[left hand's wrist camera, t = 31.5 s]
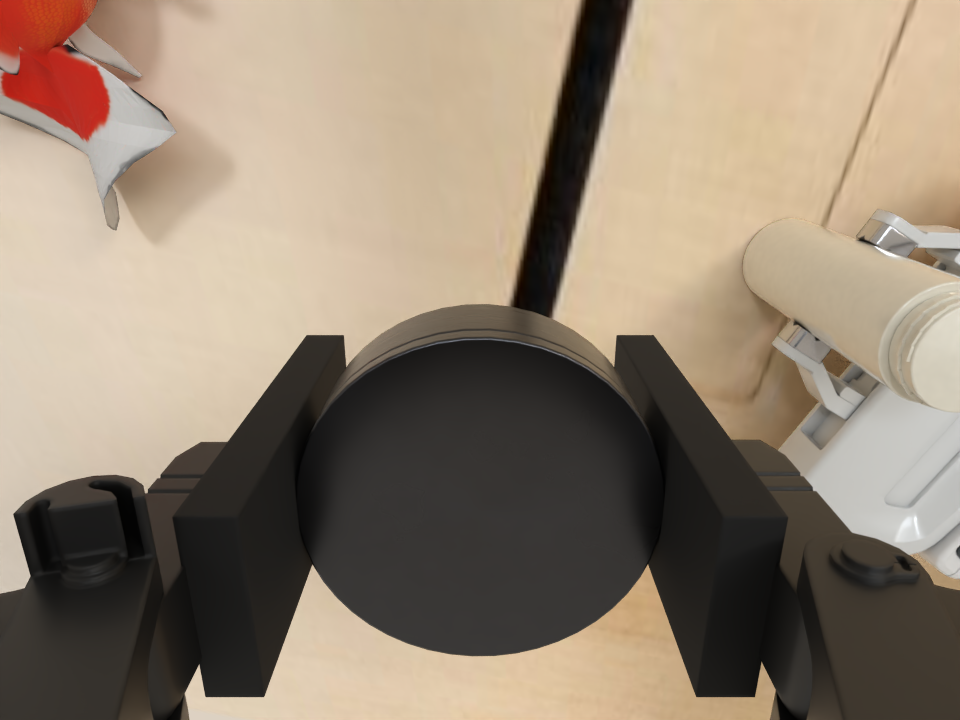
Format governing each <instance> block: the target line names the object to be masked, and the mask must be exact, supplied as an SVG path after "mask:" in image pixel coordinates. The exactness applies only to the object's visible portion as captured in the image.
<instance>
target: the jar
mask: <svg viewBox="0 0 960 720" xmlns="http://www.w3.org/2000/svg"><path fill="white" fill-rule="evenodd" d="M743 275H744V279H745V281H746V283H747V285H748V287H749V288H750V290H751V291H752V292H753V293H754V294H755V295H757V296H758V297H759V298H761V299H762V300H764V301H765V302H766V303H768V304H769V305H771V306H772V307H774V308H775V309H776V310H778V311H779V312H781V313H782V314H783V315H785V316H786V317H788V318H789V319H791V320H792V321H794V322H795V323H797V324H798V325H800V326H801V327H802V328H804V329H806V330H807V331H808V332H810V333H811V334H812V335H814V336H815V337H816V338H817V339H819V340H820V341H822V342H823V343H824V344H826V345H827V346H829V347H830V348H832V349H833V350H834V351H836V352H837V353H839V354H840V355H841V356H843V357H844V358H846V359H847V360H849V361H850V362H851V363H853V364H854V365H856V366H857V367H858V368H860V369H861V370H863V371H864V372H866V373H867V374H868V375H870V376H871V377H873V378H874V379H875V380H877V381H878V382H880V383H881V384H883V385H884V386H885V387H887V388H888V389H890V390H891V391H892V392H894V393H895V394H897V395H898V396H900V397H902V398H904V399H906V400H909V401H912V402H916V403H920V404H922V405H925V406H928V407H931V408H934V409H938V410H941V411H945V412H953V413H960V277H959V276H957V275H954V274H951V273H949V272H946V271H943V270H940V269H938V268H935V267H932V266H929V265H927V264H924V263H921V262H919V261H916V260H913V259H910V258H908V257H905V256H902V255H900V254H897V253H894V252H891V251H889V250H886V249H883V248H881V247H878V246H875V245H872V244H870V243H867V242H864V241H862V240H859V239H856V238H853V237H851V236H848V235H845V234H843V233H840V232H837V231H834V230H832V229H829V228H826V227H823V226H821V225H818V224H815V223H813V222H810V221H807V220H804V219H799V218H787V219H782V220H778V221H775V222H773V223H771V224H769V225H767V226H766V227H764V228H763V229H762V230H761V231H759V232H758V233H757V234H756V235H755V236H754V238H753V239H752V240H751V242H750V243H749V245H748V247H747V249H746V252H745V255H744V259H743Z"/></svg>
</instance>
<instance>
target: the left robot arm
mask: <svg viewBox="0 0 960 720" xmlns="http://www.w3.org/2000/svg"><path fill="white" fill-rule="evenodd" d="M614 368H615V369H616V371H617V372H618V373H619V374H620V376H621V378H622V380H623V381H624V383H625V385H626V387H627V389H628V390H629V392H630V394H631V396H632V398H633V400H634V402H635V404H636V406H637V408H638V410H639V411H640V413H641V415H642V417H643V419H644V421H645V423H646V425H647V427H648V429H649V431H650V433H651V435H652V437H653V440H654V442H655V445H656V448H657V450H658V453H659V455H660V460H661V464H662V469H663V473H664V480H665V498H664V507H663V517H662V525H661V532H660V536H659V540H658V542H657V545H656V547H655V550H654V552H653V555H652V557H651V559H650V561H649V563H648V565H649V568H650V571H651V573H652V576H653V579H654V582H655V584H656V587H657V590H658V593H659V595H660V598H661V601H662V604H663V606H664V609H665V612H666V615H667V618H668V620H669V623H670V626H671V629H672V631H673V634H674V637H675V640H676V642H677V645H678V648H679V651H680V653H681V656H682V659H683V662H684V664H685V667H686V670H687V673H688V675H689V678H690V681H691V684H692V686H693V689H694V692H695V695H696V697H755V694H756V688H757V683H758V677H759V672H760V667H761V661H762V663H763V665H764V667H765V669H766V671H767V673H768V675H769V677H770V679H771V681H772V683H773V685H774V687H775V689H776V692H775V697H774V702H773V707H772V712H771V717H770V720H960V591H959V590H954V589H949V588H945V587H941V586H937V585H934V584H933V582H932V580H931V578H930V576H929V574H928V573H927V572H926V571H925V569H924V568H923V567H922V566H921V564H920V563H919V562H918V561H917V560H915V559H914V558H913V557H911V556H910V555H908V554H907V553H905V552H904V551H902V550H901V549H899V548H897V547H895V546H893V545H890V544H888V543H886V542H883V541H881V540H879V539H876V538H872V537H868V536H864V535H860V534H856V533H852V532H851V531H850V530H849V528H848V527H847V526H846V525H845V524H844V523H843V521H842V520H841V519H840V518H839V517H838V516H837V514H836V513H835V512H834V511H833V510H832V509H831V507H830V506H829V505H828V504H827V503H826V502H825V501H824V499H823V498H822V497H821V496H820V495H819V494H818V492H817V491H813V487H812V485H811V484H810V483H809V482H808V481H807V480H806V479H805V477H804V476H801V475H800V472H799V470H798V469H797V468H796V467H795V466H794V465H793V463H792V462H791V461H790V460H789V459H788V458H787V456H786V455H784V454H783V453H781V452H779V451H778V450H776V449H774V448H773V447H771V446H769V445H768V444H766V443H764V442H762V441H761V440H731V439H730V438H729V436H728V435H727V434H726V432H725V431H724V430H723V428H722V427H721V426H720V424H719V423H718V421H717V420H716V419H715V417H714V416H713V415H712V413H711V412H710V411H709V409H708V408H707V407H706V405H705V404H704V403H703V401H702V400H701V399H700V397H699V396H698V394H697V393H696V392H695V390H694V389H693V388H692V386H691V385H690V384H689V382H688V381H687V380H686V378H685V377H684V376H683V374H682V373H681V372H680V370H679V369H678V367H677V366H676V365H675V363H674V362H673V361H672V359H671V358H670V357H669V355H668V354H667V353H666V351H665V350H664V349H663V347H662V346H661V345H660V343H659V342H658V341H657V339H656V338H655V336H654V335H617V338H616V352H615V365H614ZM345 369H346V360H345V346H344V335H307V336H306V337H305V338H304V340H303V341H302V342H301V344H300V345H299V346H298V348H297V349H296V351H295V352H294V353H293V355H292V356H291V357H290V359H289V360H288V361H287V363H286V364H285V365H284V367H283V368H282V369H281V371H280V372H279V373H278V375H277V376H276V378H275V379H274V380H273V382H272V383H271V384H270V386H269V387H268V388H267V390H266V391H265V392H264V394H263V395H262V396H261V398H260V399H259V400H258V402H257V403H256V405H255V406H254V407H253V409H252V410H251V411H250V413H249V414H248V415H247V417H246V418H245V419H244V421H243V422H242V423H241V425H240V426H239V427H238V429H237V430H236V432H235V433H234V434H233V436H232V437H231V438H230V440H229V441H228V442H200V443H199V444H197V445H195V446H194V447H192V448H190V449H189V450H187V451H185V452H184V453H182V454H180V455H179V456H177V457H175V459H174V460H173V461H172V462H171V463H170V464H169V466H168V467H167V468H166V469H165V470H164V471H163V473H162V474H161V477H160V478H158V479H157V480H156V481H155V482H154V483H153V484H152V486H151V487H150V488H149V489H148V493H145V492H144V487H143V485H142V484H140V483H139V482H138V481H136V480H135V479H133V478H129V477H124V476H119V475H104V476H91V477H86V478H81V479H77V480H72V481H68V482H65V483H63V484H60V485H57V486H55V487H52V488H49V489H46V490H44V491H43V492H41V493H39V494H38V495H36V496H34V497H32V498H31V499H29V500H27V501H26V502H25V503H24V504H23V505H22V506H21V507H20V508H19V509H18V510H17V511H16V512H15V513H14V514H13V515H14V518H15V522H16V525H17V529H18V533H19V536H20V540H21V543H22V547H23V550H24V554H25V557H26V561H27V564H28V568H29V572H30V575H31V577H30V579H29V581H28V583H27V585H26V587H25V588H24V589H20V590H16V591H12V592H7V593H2V594H0V720H189V714H188V707H187V702H186V697H185V692H186V690H187V687H188V685H189V683H190V681H191V679H192V677H193V675H194V673H195V671H196V669H197V667H198V665H199V664H200V670H201V675H202V680H203V686H204V691H205V696H206V697H264V696H265V693H266V690H267V688H268V685H269V682H270V679H271V677H272V674H273V671H274V668H275V666H276V663H277V660H278V657H279V655H280V652H281V649H282V646H283V644H284V641H285V638H286V635H287V632H288V630H289V627H290V624H291V621H292V619H293V616H294V613H295V610H296V608H297V605H298V602H299V599H300V597H301V594H302V591H303V588H304V586H305V583H306V580H307V577H308V575H309V572H310V569H311V566H312V562H311V560H310V558H309V555H308V553H307V551H306V549H305V547H304V544H303V540H302V537H301V533H300V529H299V521H298V512H297V503H296V488H295V485H296V477H297V471H298V466H299V461H300V458H301V455H302V452H303V449H304V446H305V443H306V440H307V438H308V436H309V434H310V433H311V431H312V429H313V427H314V425H315V423H316V421H317V419H318V417H319V415H320V413H321V411H322V409H323V407H324V405H325V403H326V401H327V399H328V397H329V396H330V394H331V392H332V390H333V388H334V386H335V384H336V382H337V380H338V378H339V377H340V376H341V374H342V373H343V371H344V370H345Z"/></svg>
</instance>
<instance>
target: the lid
mask: <svg viewBox="0 0 960 720" xmlns="http://www.w3.org/2000/svg"><path fill="white" fill-rule="evenodd" d="M295 488H296V503H297V512H298V521H299V529H300V533H301V537H302V540H303V544H304V547H305V549H306V551H307V553H308V555H309V558H310V560H311V562H312V564H313V566H314V567H315V569H316V571H317V572H318V574H319V575H320V577H321V579H322V580H323V582H324V583H325V584H326V585H327V586H328V588H329V589H330V590H331V591H332V592H333V594H334V595H335V596H336V597H337V598H338V599H339V600H340V601H341V602H342V603H343V604H344V605H345V606H346V607H347V608H348V609H349V610H351V611H352V612H353V613H354V614H356V615H357V616H358V617H360V618H361V619H362V620H364V621H365V622H367V623H368V624H369V625H371V626H373V627H375V628H376V629H378V630H380V631H382V632H383V633H385V634H387V635H389V636H391V637H394V638H396V639H398V640H401V641H403V642H405V643H408V644H411V645H414V646H417V647H420V648H424V649H427V650H431V651H436V652H441V653H447V654H453V655H464V656H497V655H506V654H515V653H520V652H524V651H529V650H533V649H538V648H540V647H543V646H546V645H549V644H552V643H555V642H558V641H560V640H563V639H565V638H567V637H569V636H571V635H573V634H575V633H578V632H579V631H581V630H583V629H584V628H586V627H587V626H589V625H591V624H592V623H594V622H596V621H597V620H598V619H600V618H601V617H602V616H603V615H605V614H606V613H607V612H609V611H610V610H611V609H612V608H613V607H614V606H615V605H616V604H617V603H618V602H619V601H620V600H621V599H622V598H624V597H625V596H626V595H627V594H628V592H629V591H630V590H631V588H632V587H633V586H634V584H635V583H636V582H637V581H638V579H639V578H640V577H641V575H642V573H643V571H644V570H645V568H646V566H647V565H648V563H649V561H650V559H651V557H652V555H653V552H654V550H655V547H656V545H657V542H658V540H659V536H660V532H661V525H662V517H663V507H664V498H665V480H664V473H663V469H662V464H661V460H660V455H659V453H658V450H657V448H656V445H655V442H654V440H653V437H652V435H651V433H650V431H649V429H648V427H647V425H646V423H645V421H644V419H643V417H642V415H641V413H640V411H639V410H638V408H637V406H636V404H635V402H634V400H633V398H632V396H631V394H630V392H629V390H628V389H627V387H626V385H625V383H624V381H623V380H622V378H621V376H620V374H619V373H618V372H617V371H616V369H615V368H614V367H613V365H612V364H611V363H610V362H609V360H608V359H607V358H606V357H605V356H604V355H603V354H602V353H601V352H600V351H599V350H598V349H597V348H596V347H595V346H594V345H593V344H592V343H590V342H589V341H588V340H586V339H585V338H583V337H582V336H581V335H579V334H578V333H577V332H575V331H574V330H572V329H570V328H568V327H566V326H564V325H563V324H561V323H559V322H557V321H555V320H553V319H550V318H548V317H545V316H542V315H540V314H537V313H535V312H531V311H527V310H523V309H518V308H514V307H509V306H499V305H490V304H478V305H460V306H453V307H446V308H441V309H438V310H434V311H430V312H427V313H423V314H420V315H418V316H415V317H413V318H411V319H408V320H406V321H403V322H401V323H399V324H398V325H396V326H394V327H392V328H391V329H389V330H387V331H386V332H384V333H382V334H381V335H379V336H378V337H377V338H376V339H374V340H373V341H372V342H371V343H369V344H368V345H367V346H366V347H364V348H363V349H362V350H361V351H360V353H359V354H358V355H357V356H356V357H355V358H354V359H353V360H352V361H351V362H350V363H349V365H348V366H347V367H346V369H345V370H344V371H343V373H342V374H341V376H340V377H339V378H338V380H337V382H336V384H335V386H334V388H333V390H332V392H331V394H330V396H329V397H328V399H327V401H326V403H325V405H324V407H323V409H322V411H321V413H320V415H319V417H318V419H317V421H316V423H315V425H314V427H313V429H312V431H311V433H310V434H309V436H308V438H307V440H306V443H305V446H304V449H303V452H302V455H301V458H300V461H299V466H298V471H297V477H296V485H295Z"/></svg>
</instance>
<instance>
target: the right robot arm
mask: <svg viewBox="0 0 960 720" xmlns="http://www.w3.org/2000/svg"><path fill="white" fill-rule="evenodd" d="M856 238H858V239H859V240H862V241H864V242H867V243H870V244H872V245H875V246H878V247H881V248H883V249H886V250H889V251H891V252H894V253H897V254H900V255H902V256H905V257H908V256H909V254H910V253H911V252H912V251H913V250H914V249H915V247H916V248H926V253H928V254H929V255H931V256H932V257H934V258H935V259H936V260H937V261H936V262H935V263H934V265H933V266H932V267H935V268H938V269H940V270H943V271H946V272H949V273H951V274H954V275H957V276H959V277H960V229H956V228H952V227H949V226H945V225H911V224H910V223H908V222H907V221H905V220H904V219H903V218H901V217H899V216H897V215H895V214H893V213H891V212H887V211H883V210H880V209H877V210H876V211H875V213H874V214H873V215H872V217H871V218H870V219H869V220H868V222H867V223H866V224H865V225H864V227H863V228H862V229H861V231H860V232H859V233H858V234H857V236H856ZM771 344H772V345H773V346H774V347H775V348H777V349H778V350H779V351H780V352H782V353H783V354H785V355H786V356H787V357H789V358H790V359H792V360H793V361H795V362H796V365H797V367H798V370H799V372H800V375H801V377H802V379H803V382H804V384H805V387H806V389H807V391H808V392H809V393H810V394H811V395H812V396H813V397H814V398H816V399H817V400H818V401H819V402H818V403H817V404H816V405H815V406H814V408H813V409H812V410H811V411H810V412H809V413H808V415H807V416H806V417H805V418H804V419H803V421H802V422H801V423H800V424H799V425H798V427H797V428H796V429H795V430H794V431H793V432H792V434H791V435H790V436H789V437H788V438H787V440H786V441H785V442H784V443H783V444H782V446H781V447H780V448H779V449H778V451H779V452H781V453H783V454H784V455H786V456H787V458H788V459H789V460H790V461H791V462H792V463H793V465H794V466H795V467H796V468H797V469H798V470H799V472H800V475H801V476H804V477H805V479H806V480H807V481H808V482H809V483H810V484H811V485H812V487H813V491H817V492H818V494H819V495H820V496H821V497H822V498H823V499H824V501H825V502H826V503H827V504H828V505H829V506H830V507H831V509H832V510H833V511H834V512H835V513H836V514H837V516H838V517H839V518H840V519H841V520H842V521H843V523H844V524H845V525H846V526H847V527H848V528H849V530H850V531H851V532H852V533H856V534H860V535H864V536H868V537H872V538H876V539H879V540H881V541H883V542H886V543H888V544H890V545H893V546H895V547H897V548H899V549H901V550H902V551H904V552H905V553H907V554H908V555H912V554H916V553H917V554H918V555H919V556H920V557H922V558H923V559H924V560H925V561H927V562H928V563H929V564H931V565H932V566H933V567H934V568H936V569H937V570H938V571H940V572H941V573H943V574H944V575H946V576H948V577H950V578H953V579H960V413H953V412H945V411H941V410H938V409H934V408H931V407H928V406H925V405H922V404H920V403H916V402H912V401H909V400H906V399H904V398H902V397H900V396H898V395H897V394H895V393H894V392H892V391H891V390H890V389H888V388H887V387H885V386H884V385H883V384H881V383H880V382H878V381H877V380H875V379H874V378H873V377H871V376H870V375H868V374H867V373H866V372H864V371H863V370H861V369H860V368H858V367H857V366H856V365H854V364H853V363H850V365H849V366H848V367H847V368H846V369H845V371H844V372H843V373H842V374H841V375H840V377H837V376H835V375H833V374H832V373H830V372H828V371H826V369H825V366H824V364H823V362H822V360H823V359H824V358H825V357H826V355H827V354H828V353H829V351H830V350H831V349H832V348H830V347H829V346H827V345H826V344H824V343H823V342H822V341H820V340H819V339H817V338H816V337H815V336H814V335H812V334H811V333H810V332H808V331H807V330H806V329H804V328H802V327H801V326H800V325H798V324H797V323H795V322H794V321H792V320H790V321H789V322H788V323H787V324H786V326H785V327H784V328H783V329H782V331H781V332H780V333H779V334H778V336H777V337H776V338H775V339H774V341H773V342H772V343H771Z"/></svg>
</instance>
